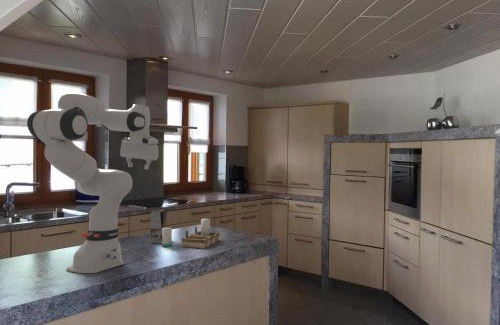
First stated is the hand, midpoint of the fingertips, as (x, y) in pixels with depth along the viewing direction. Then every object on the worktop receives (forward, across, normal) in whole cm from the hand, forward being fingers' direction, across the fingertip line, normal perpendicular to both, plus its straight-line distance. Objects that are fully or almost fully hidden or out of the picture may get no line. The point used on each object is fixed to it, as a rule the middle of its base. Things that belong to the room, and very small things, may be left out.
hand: (138, 168), depth 189 cm
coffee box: (+40, +1, +17) cm, 44 cm away
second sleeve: (+36, +23, +28) cm, 51 cm away
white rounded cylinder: (+38, +12, +10) cm, 41 cm away
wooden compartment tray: (+38, +24, +23) cm, 50 cm away
